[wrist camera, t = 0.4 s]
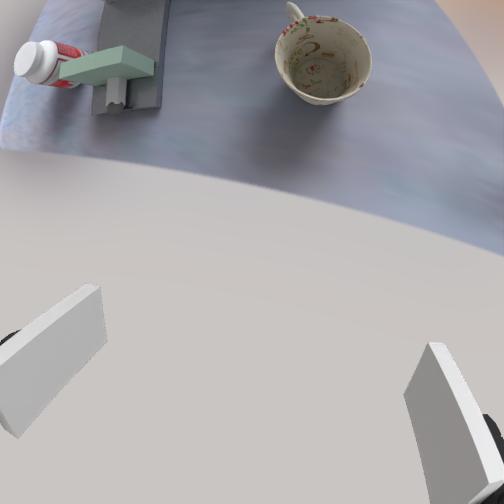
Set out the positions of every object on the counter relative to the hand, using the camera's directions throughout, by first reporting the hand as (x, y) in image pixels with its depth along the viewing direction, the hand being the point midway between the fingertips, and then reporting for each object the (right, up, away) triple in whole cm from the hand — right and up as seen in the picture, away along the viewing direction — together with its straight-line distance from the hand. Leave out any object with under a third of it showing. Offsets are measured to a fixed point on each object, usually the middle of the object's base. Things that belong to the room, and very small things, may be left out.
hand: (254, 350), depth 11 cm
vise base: (-16, +31, +21) cm, 41 cm away
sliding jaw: (-16, +24, +22) cm, 36 cm away
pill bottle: (-26, +30, +24) cm, 46 cm away
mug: (+7, +25, +20) cm, 32 cm away
